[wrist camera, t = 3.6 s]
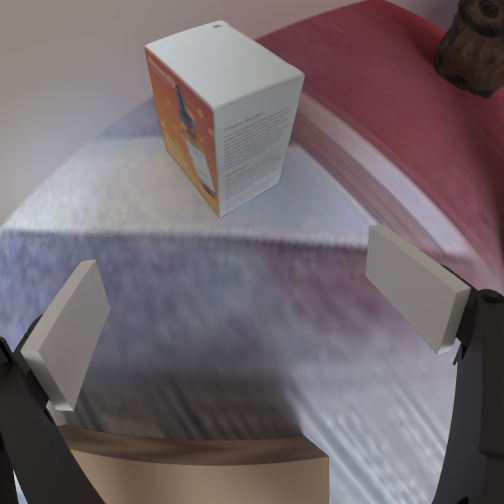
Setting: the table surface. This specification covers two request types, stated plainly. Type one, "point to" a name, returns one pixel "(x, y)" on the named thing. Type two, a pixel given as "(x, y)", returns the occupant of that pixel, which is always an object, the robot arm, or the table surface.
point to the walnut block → (200, 469)
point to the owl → (474, 48)
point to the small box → (224, 110)
